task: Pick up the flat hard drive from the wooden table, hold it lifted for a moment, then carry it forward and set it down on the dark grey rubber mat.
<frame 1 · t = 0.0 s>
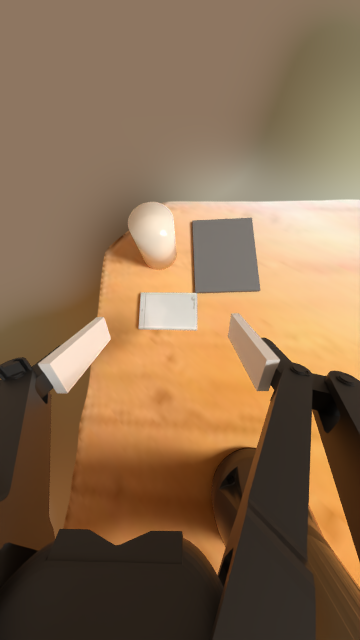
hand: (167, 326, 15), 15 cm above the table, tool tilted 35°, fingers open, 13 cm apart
cream rounded cylinder: (159, 254, 33), on the table
mat: (223, 255, 32), on the table
hard drive: (169, 312, 31), on the table
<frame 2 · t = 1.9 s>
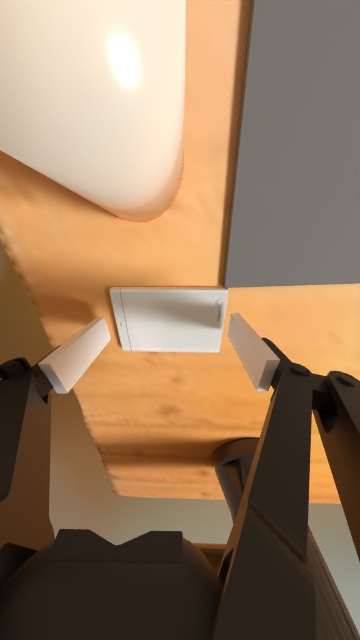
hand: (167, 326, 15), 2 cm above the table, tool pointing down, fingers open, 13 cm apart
cream rounded cylinder: (132, 161, 11), on the table
mat: (325, 166, 11), on the table
hard drive: (170, 318, 17), on the table
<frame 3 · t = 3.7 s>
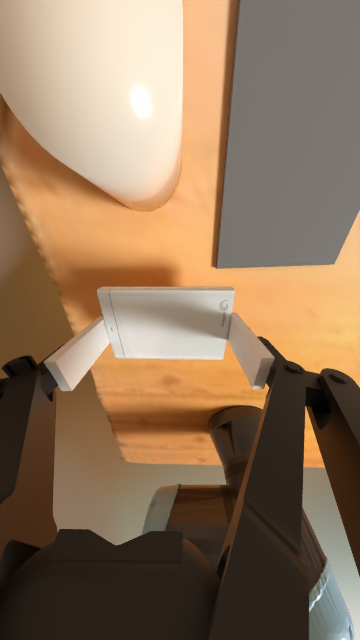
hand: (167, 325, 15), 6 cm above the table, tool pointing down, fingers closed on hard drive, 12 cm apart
cream rounded cylinder: (139, 158, 13), on the table
mat: (299, 164, 13), on the table
hard drive: (168, 321, 16), point 5 cm above the table, touching gripper
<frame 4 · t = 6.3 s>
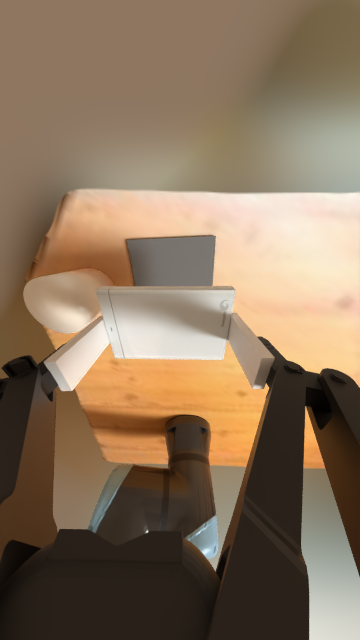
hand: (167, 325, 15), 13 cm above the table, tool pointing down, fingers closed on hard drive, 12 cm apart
cream rounded cylinder: (95, 290, 26), on the table
mat: (174, 293, 26), on the table
hard drive: (168, 321, 15), point 12 cm above the table, touching gripper
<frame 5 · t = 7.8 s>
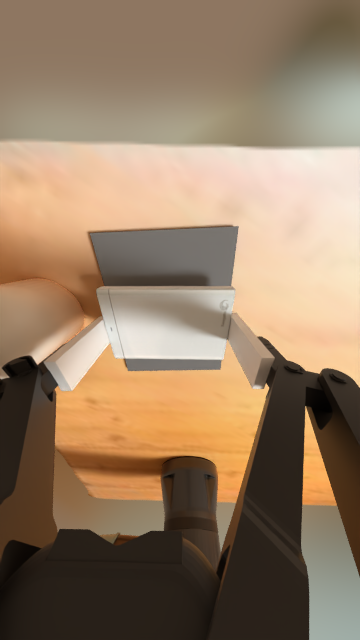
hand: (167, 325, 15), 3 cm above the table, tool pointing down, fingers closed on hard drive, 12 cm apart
cream rounded cylinder: (51, 310, 18), on the table
mat: (170, 314, 18), on the table
hard drive: (168, 321, 15), point 2 cm above the table, touching gripper
when the fingers open (2 cm above the table, at t = 8.8 s): hard drive stays where it is, resting on mat.
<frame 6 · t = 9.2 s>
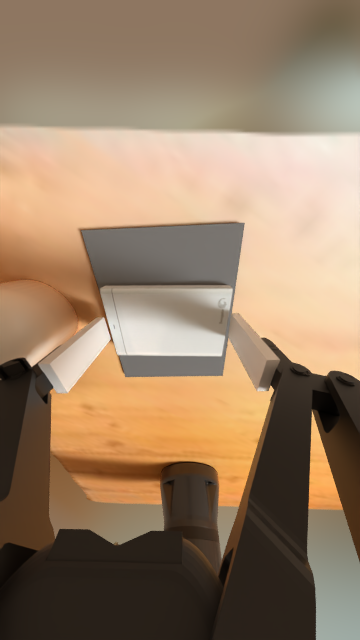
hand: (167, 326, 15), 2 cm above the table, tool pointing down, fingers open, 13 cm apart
cream rounded cylinder: (42, 313, 16), on the table
mat: (169, 318, 16), on the table
hard drive: (169, 319, 16), resting on mat
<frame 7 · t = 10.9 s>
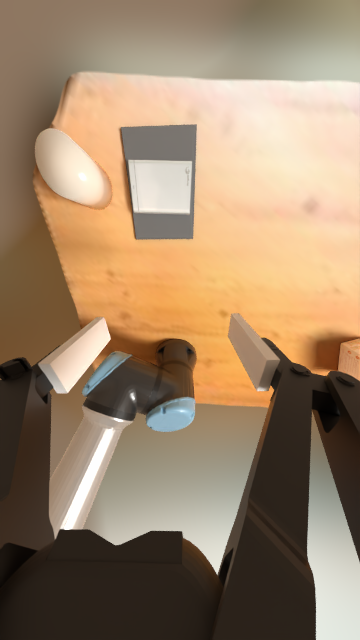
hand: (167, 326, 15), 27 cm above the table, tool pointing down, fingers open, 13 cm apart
coffeecake box: (348, 354, 50), on the table
cream rounded cylinder: (93, 187, 30), on the table
mat: (162, 191, 30), on the table
hard drive: (162, 190, 30), resting on mat
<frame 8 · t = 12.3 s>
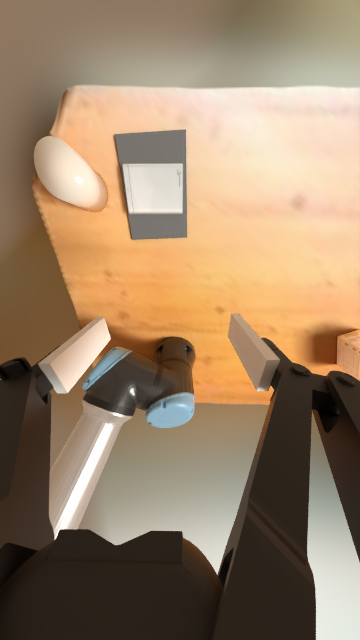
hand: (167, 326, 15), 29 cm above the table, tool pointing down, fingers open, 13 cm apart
coffeecake box: (346, 347, 51), on the table
cream rounded cylinder: (90, 190, 32), on the table
mat: (155, 193, 32), on the table
hard drive: (155, 192, 31), resting on mat
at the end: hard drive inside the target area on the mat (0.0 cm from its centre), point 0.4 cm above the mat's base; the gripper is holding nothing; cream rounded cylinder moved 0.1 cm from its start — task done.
